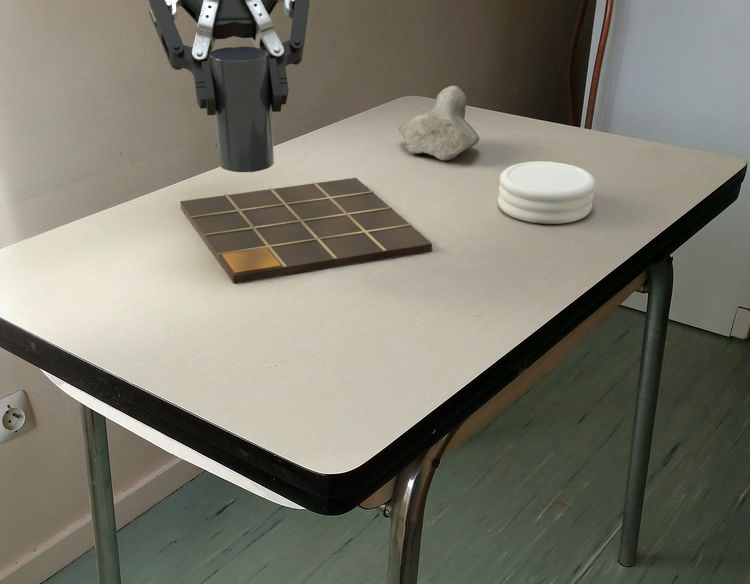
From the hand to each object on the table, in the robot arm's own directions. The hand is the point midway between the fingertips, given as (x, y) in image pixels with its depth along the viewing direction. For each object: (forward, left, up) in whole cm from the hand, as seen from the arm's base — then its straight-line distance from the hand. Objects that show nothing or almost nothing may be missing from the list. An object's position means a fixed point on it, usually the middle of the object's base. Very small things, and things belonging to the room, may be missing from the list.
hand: (244, 107), depth 83 cm
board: (+8, +10, -15) cm, 20 cm away
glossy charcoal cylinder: (0, +2, -5) cm, 5 cm away
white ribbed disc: (+34, +6, -15) cm, 38 cm away
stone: (+30, +26, -15) cm, 42 cm away
